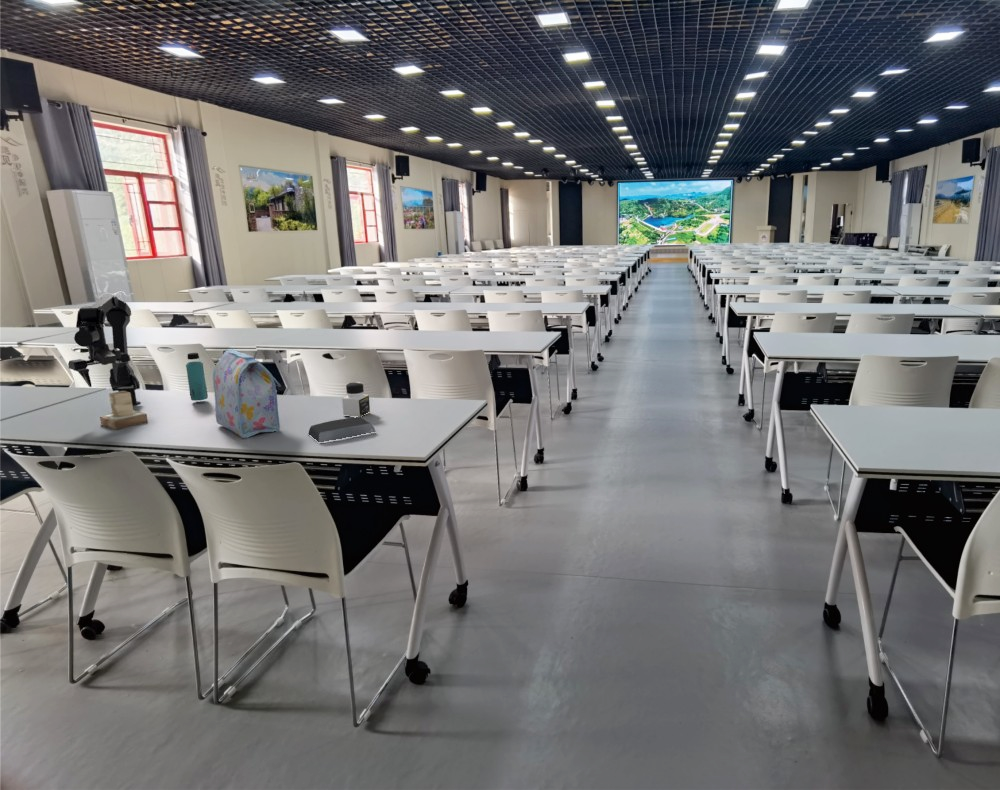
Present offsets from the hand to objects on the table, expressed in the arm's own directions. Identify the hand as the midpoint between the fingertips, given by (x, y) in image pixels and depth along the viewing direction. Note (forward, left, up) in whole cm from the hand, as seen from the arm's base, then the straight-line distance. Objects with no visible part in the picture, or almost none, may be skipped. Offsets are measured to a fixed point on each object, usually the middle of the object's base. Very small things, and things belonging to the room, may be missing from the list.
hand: (104, 384), depth 237 cm
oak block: (+11, 0, -10) cm, 15 cm away
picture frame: (+11, 0, -13) cm, 17 cm away
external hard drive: (+88, +34, -14) cm, 95 cm away
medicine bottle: (+75, +52, -13) cm, 92 cm away
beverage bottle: (+7, +31, -13) cm, 34 cm away
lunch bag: (+56, +21, -13) cm, 61 cm away
